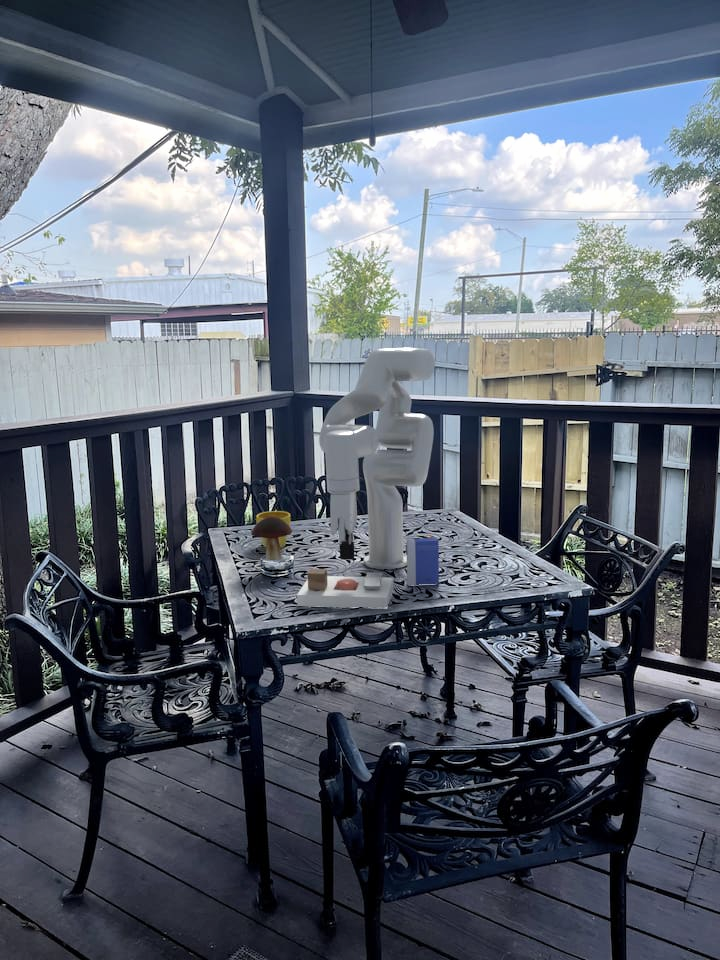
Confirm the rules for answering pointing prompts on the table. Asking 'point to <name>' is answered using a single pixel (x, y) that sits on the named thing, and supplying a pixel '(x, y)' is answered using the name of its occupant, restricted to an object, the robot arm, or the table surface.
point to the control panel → (346, 594)
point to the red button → (346, 584)
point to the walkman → (422, 561)
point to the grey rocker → (373, 580)
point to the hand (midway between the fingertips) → (347, 558)
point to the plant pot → (279, 514)
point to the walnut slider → (317, 579)
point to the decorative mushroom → (272, 535)
